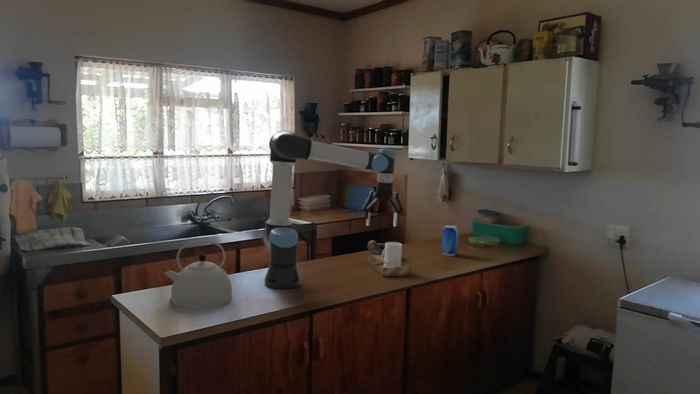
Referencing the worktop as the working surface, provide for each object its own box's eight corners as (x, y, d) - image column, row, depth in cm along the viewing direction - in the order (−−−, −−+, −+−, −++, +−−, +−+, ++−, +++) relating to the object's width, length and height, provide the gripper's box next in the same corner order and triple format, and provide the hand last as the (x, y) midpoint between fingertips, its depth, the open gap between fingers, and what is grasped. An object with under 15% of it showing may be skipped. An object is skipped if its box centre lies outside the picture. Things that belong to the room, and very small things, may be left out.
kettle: (165, 311, 181) (165, 249, 178) (162, 291, 201) (162, 235, 198) (236, 304, 190) (237, 246, 187) (226, 286, 211) (227, 233, 208)
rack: (382, 276, 235) (383, 267, 235) (369, 263, 256) (369, 255, 256) (410, 275, 239) (411, 267, 238) (395, 263, 260) (395, 255, 259)
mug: (386, 272, 238) (387, 247, 237) (374, 267, 245) (375, 243, 243) (404, 269, 245) (406, 244, 243) (393, 264, 252) (394, 241, 250)
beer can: (458, 254, 285) (460, 226, 283) (453, 257, 278) (455, 228, 276) (444, 251, 289) (446, 224, 287) (438, 254, 282) (440, 226, 280)
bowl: (402, 259, 268) (403, 241, 267) (374, 262, 259) (375, 243, 258) (387, 253, 280) (388, 235, 278) (360, 256, 271) (361, 237, 269)
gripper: (361, 181, 234) (358, 226, 236) (412, 183, 240) (408, 228, 242) (357, 179, 241) (354, 223, 244) (406, 182, 247) (403, 225, 250)
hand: (381, 226), depth 243 cm, fingers open, 13 cm apart
